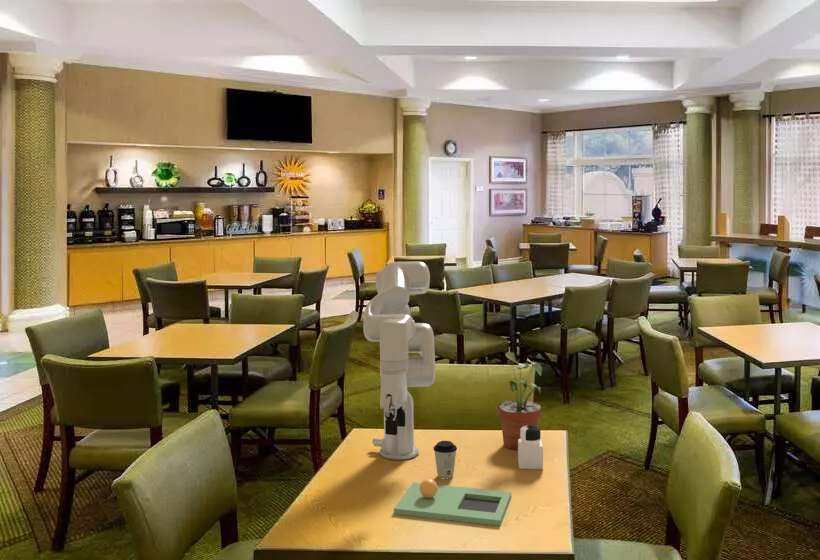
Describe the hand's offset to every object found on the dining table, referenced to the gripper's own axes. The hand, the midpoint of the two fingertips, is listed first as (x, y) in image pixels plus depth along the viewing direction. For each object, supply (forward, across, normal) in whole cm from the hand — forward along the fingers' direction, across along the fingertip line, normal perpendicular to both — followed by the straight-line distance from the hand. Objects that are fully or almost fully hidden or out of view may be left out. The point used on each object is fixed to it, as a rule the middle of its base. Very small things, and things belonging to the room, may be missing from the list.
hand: (395, 429), depth 195 cm
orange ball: (+16, 0, +9) cm, 18 cm away
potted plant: (+20, -51, +27) cm, 61 cm away
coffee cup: (+20, -19, +9) cm, 29 cm away
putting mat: (+20, 0, +16) cm, 25 cm away
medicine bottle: (+20, -34, +32) cm, 51 cm away
